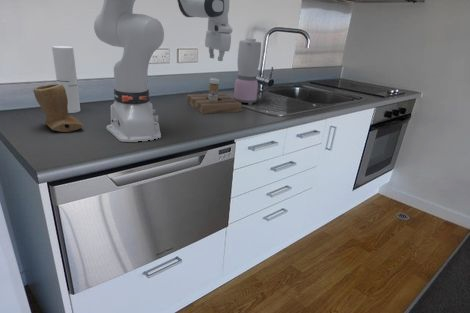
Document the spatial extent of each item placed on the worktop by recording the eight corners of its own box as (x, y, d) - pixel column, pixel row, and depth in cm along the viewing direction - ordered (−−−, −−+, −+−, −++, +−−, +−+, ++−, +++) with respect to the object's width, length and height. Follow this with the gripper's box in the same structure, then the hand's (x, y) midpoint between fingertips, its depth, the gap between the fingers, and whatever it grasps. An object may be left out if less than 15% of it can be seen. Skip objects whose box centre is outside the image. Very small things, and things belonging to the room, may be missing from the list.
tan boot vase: (37, 123, 114) (29, 81, 108) (72, 119, 121) (67, 79, 115) (45, 136, 103) (38, 90, 97) (84, 131, 110) (79, 88, 104)
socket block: (241, 111, 151) (241, 103, 149) (201, 113, 142) (202, 105, 140) (223, 101, 167) (223, 93, 165) (187, 102, 158) (187, 94, 156)
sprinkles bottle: (208, 107, 152) (210, 79, 147) (207, 105, 156) (208, 77, 151) (218, 108, 153) (220, 80, 148) (216, 105, 157) (218, 78, 152)
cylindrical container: (61, 108, 132) (52, 45, 122) (80, 108, 135) (73, 46, 125) (60, 113, 126) (51, 47, 116) (80, 112, 129) (73, 48, 119)
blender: (255, 106, 163) (262, 40, 150) (232, 103, 163) (237, 38, 151) (256, 99, 177) (263, 38, 165) (235, 97, 178) (240, 36, 165)
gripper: (202, 25, 147) (201, 56, 152) (220, 27, 130) (218, 62, 136) (214, 26, 150) (213, 56, 155) (234, 29, 133) (231, 62, 138)
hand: (215, 59), depth 145 cm, fingers open, 8 cm apart
